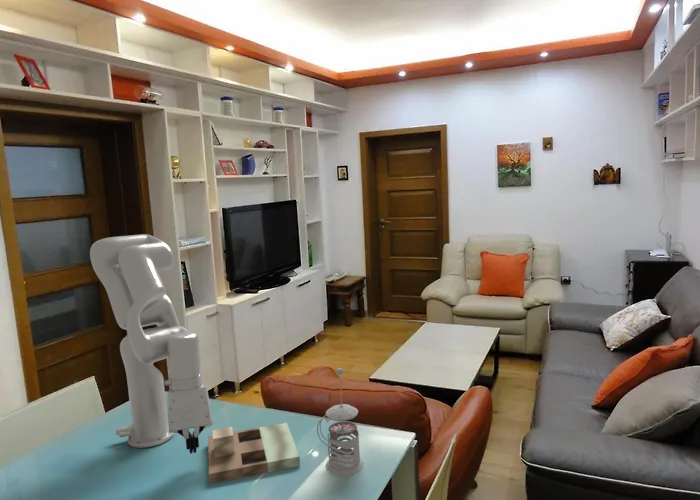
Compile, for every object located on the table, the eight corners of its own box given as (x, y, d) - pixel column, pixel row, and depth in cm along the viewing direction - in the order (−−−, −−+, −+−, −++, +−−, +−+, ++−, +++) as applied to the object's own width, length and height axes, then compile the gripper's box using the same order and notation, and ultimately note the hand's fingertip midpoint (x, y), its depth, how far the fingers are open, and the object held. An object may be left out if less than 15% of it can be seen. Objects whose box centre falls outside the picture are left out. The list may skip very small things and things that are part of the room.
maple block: (214, 457, 128) (213, 438, 127) (214, 448, 133) (212, 430, 132) (234, 453, 129) (233, 435, 129) (233, 444, 134) (232, 426, 134)
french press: (356, 478, 120) (351, 377, 117) (312, 471, 124) (306, 373, 121) (369, 457, 129) (364, 363, 126) (327, 451, 133) (322, 359, 130)
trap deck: (209, 483, 121) (208, 473, 120) (208, 445, 140) (208, 436, 140) (300, 465, 127) (299, 456, 126) (287, 430, 146) (286, 422, 145)
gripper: (153, 391, 121) (160, 463, 123) (217, 382, 125) (223, 452, 127) (156, 381, 128) (163, 449, 130) (217, 372, 132) (222, 438, 134)
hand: (193, 450), depth 129 cm, fingers closed
